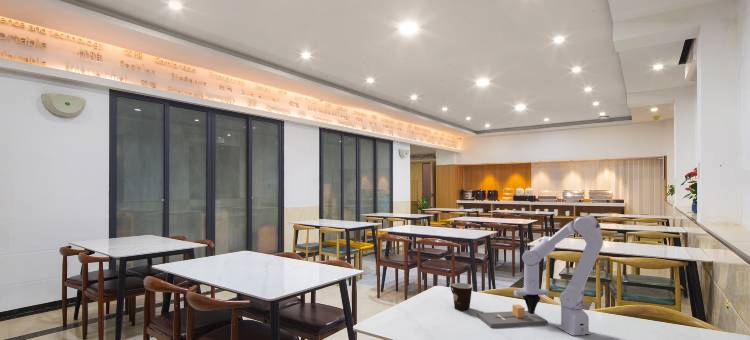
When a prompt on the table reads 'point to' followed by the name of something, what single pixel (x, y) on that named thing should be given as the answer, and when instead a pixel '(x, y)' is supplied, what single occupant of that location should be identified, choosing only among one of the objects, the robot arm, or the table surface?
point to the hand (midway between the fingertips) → (531, 313)
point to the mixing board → (510, 319)
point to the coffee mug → (461, 296)
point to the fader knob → (518, 311)
